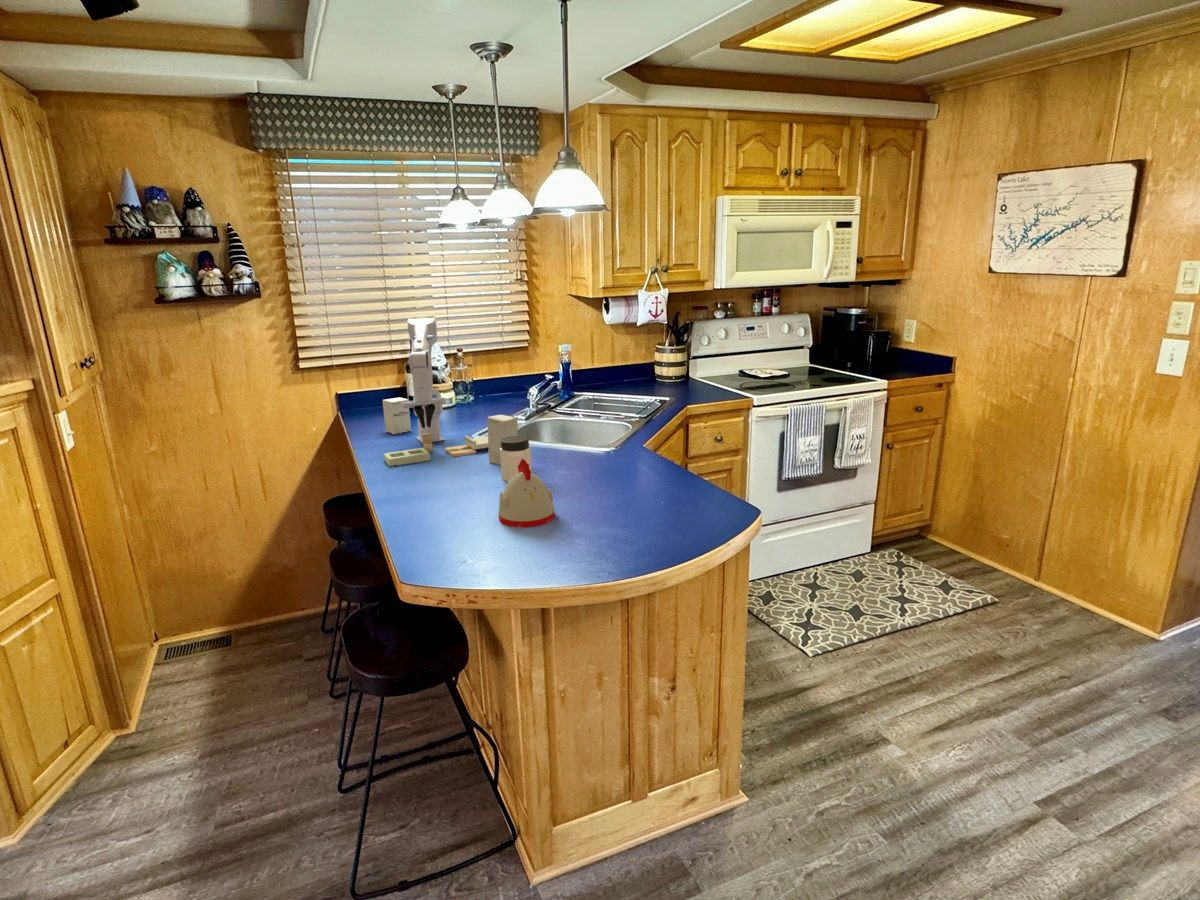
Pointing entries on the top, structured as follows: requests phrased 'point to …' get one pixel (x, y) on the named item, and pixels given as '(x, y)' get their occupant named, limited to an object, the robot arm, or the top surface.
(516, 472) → the jar
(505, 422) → the skincare box
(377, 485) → the top surface
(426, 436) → the peg
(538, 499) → the kitchen timer
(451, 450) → the board
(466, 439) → the lid
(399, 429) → the supplement box
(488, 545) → the top surface
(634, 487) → the top surface
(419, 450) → the socket board
